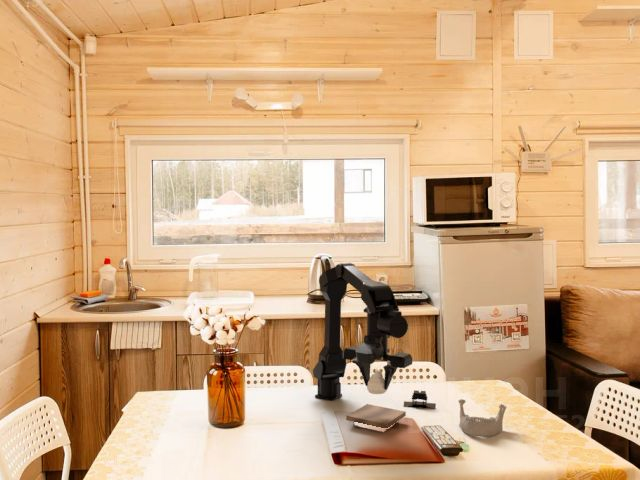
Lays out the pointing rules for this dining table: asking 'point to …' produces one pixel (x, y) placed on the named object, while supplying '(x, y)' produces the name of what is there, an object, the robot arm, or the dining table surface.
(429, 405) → the build plate
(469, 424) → the anatomical model
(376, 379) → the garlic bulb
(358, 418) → the walnut stand
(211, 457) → the dining table surface
